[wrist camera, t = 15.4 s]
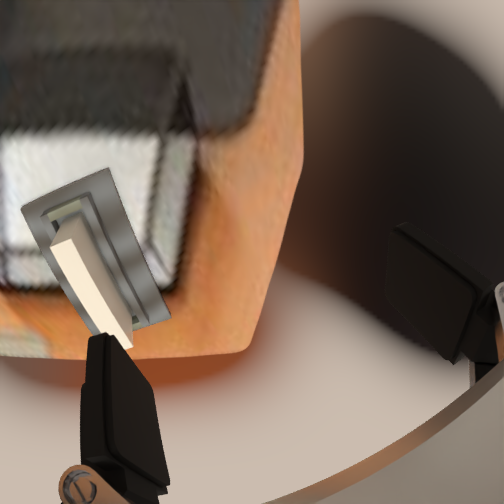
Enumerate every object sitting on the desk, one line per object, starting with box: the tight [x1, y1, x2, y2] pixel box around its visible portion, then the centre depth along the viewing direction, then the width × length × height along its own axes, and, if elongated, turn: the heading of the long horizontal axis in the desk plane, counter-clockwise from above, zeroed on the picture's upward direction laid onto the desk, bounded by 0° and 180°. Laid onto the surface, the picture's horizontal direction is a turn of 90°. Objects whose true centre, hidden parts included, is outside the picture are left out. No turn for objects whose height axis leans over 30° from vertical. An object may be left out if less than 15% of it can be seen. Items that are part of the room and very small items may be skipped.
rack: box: [21, 168, 171, 336], centre depth 42 cm, size 26×14×3 cm, turn 12°
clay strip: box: [50, 212, 133, 349], centre depth 39 cm, size 18×3×8 cm, turn 12°
